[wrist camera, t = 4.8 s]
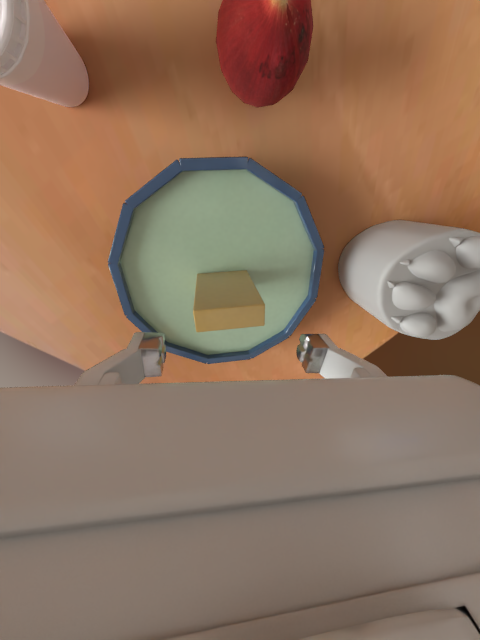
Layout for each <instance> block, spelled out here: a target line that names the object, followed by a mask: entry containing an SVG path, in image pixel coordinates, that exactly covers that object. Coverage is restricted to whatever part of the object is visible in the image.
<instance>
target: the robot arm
mask: <svg viewBox="0 0 480 640" xmlns="http://www.w3.org/2000/svg"><path fill="white" fill-rule="evenodd" d="M299 340H300V342H301V343H300V344H299V345H298V347H297V357H298V359H299V361H301V362H302V367H303V368H304V370H305V372H306V373H319V374H320V375H322V376H323V377H324V378H326V379H292V380H257V381H222V382H186V383H151V384H139V383H140V382H141V381H142V380H143V379H144V378H145V377H156V376H161V375H162V371H163V363H164V362H165V358H166V346H165V345H164V342H165V334H164V333H151V332H146V333H145V332H136V333H134V335H133V337H132V339H131V341H130V343H129V345H128V347H127V349H123V350H121V351H120V352H118V353H116V354H114V355H113V356H111V357H109V358H107V359H106V360H104V361H102V362H100V363H99V364H97V365H95V366H93V367H91V368H90V369H88V370H86V371H84V372H83V373H82V375H81V376H80V378H79V379H78V381H77V382H76V383H75V385H74V386H48V387H47V386H45V387H10V388H0V640H480V385H478V384H475V383H473V382H471V381H468V380H466V379H463V378H460V377H457V376H453V375H435V376H434V375H433V376H400V377H387V376H386V375H385V374H384V373H383V372H382V371H381V370H380V368H378V367H377V366H375V365H373V364H371V363H369V362H367V361H365V360H363V359H361V358H359V357H357V356H355V355H353V354H351V353H349V352H347V351H345V350H343V349H341V348H338V347H337V346H336V345H335V344H334V343H333V342H332V340H331V339H330V338H329V337H328V336H327V335H326V334H302V335H301V336H300V339H299Z"/></svg>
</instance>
